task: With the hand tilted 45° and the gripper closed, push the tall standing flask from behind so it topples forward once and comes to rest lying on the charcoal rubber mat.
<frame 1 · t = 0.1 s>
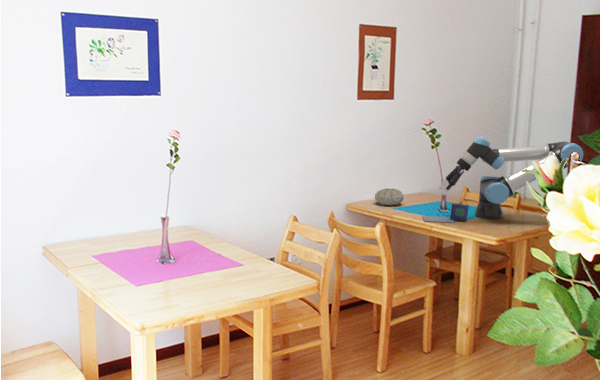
hand: (441, 191, 321), 15 cm above the table, tool tilted 35°, fingers open, 13 cm apart
flask: (458, 220, 319), on the table, touching mat
cratered grey rock: (389, 204, 363), on the table
mat: (438, 220, 321), on the table
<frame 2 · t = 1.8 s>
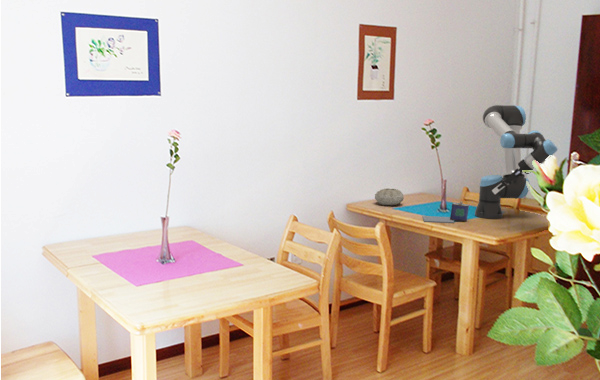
hand: (495, 190, 308), 18 cm above the table, tool tilted 45°, fingers open, 12 cm apart
nothing on the table moved.
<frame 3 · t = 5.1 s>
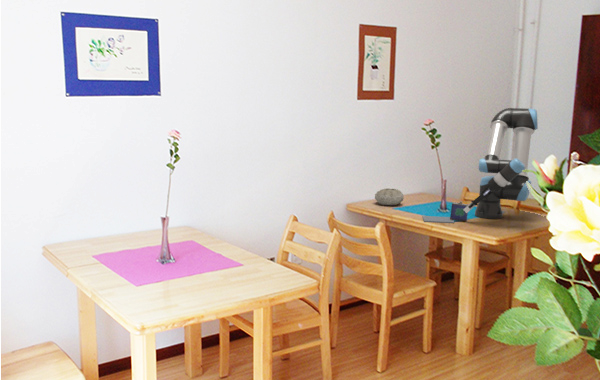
hand: (465, 211, 316), 6 cm above the table, tool tilted 45°, fingers closed
nothing on the table moved.
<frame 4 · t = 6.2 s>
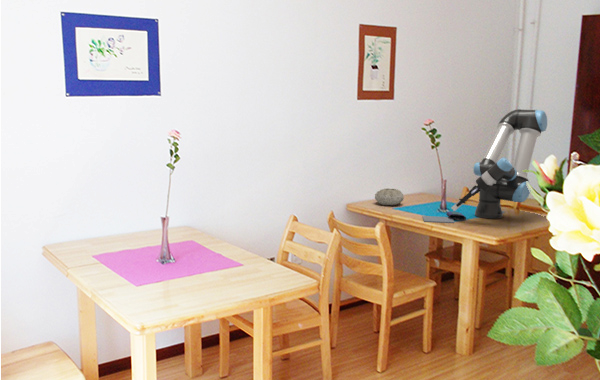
hand: (453, 209, 319), 6 cm above the table, tool tilted 45°, fingers closed
flask: (458, 217, 320), point 2 cm above the table, touching mat
everything else where it was.
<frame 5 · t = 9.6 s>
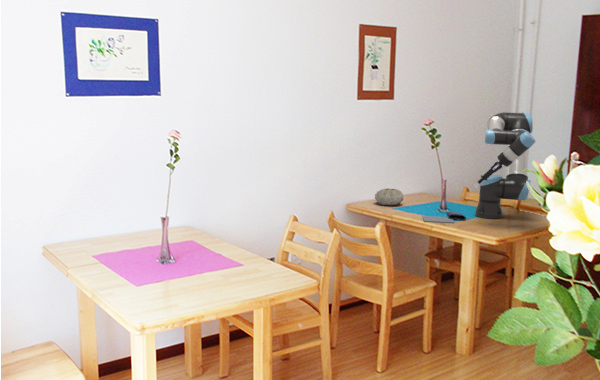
hand: (474, 186, 313), 20 cm above the table, tool tilted 45°, fingers closed
nothing on the table moved.
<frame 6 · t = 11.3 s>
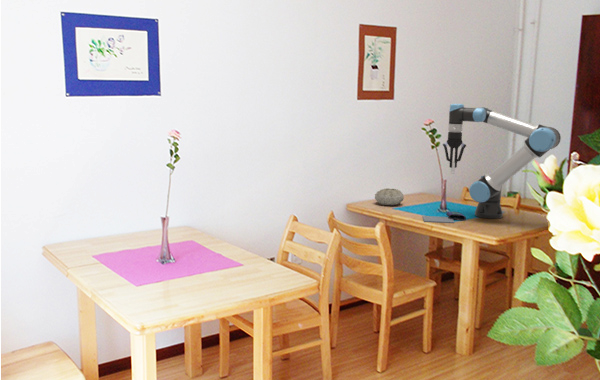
hand: (452, 173, 329), 24 cm above the table, tool pointing down, fingers closed
nothing on the table moved.
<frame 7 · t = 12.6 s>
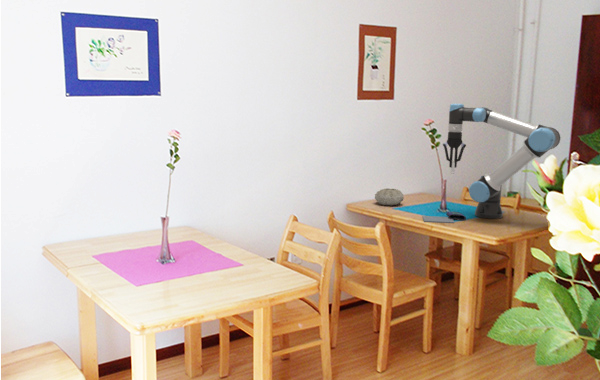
hand: (452, 173, 329), 24 cm above the table, tool pointing down, fingers closed
nothing on the table moved.
at the end: flask tilted 90°; flask touching mat, table; flask moved 2.1 cm from its start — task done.
